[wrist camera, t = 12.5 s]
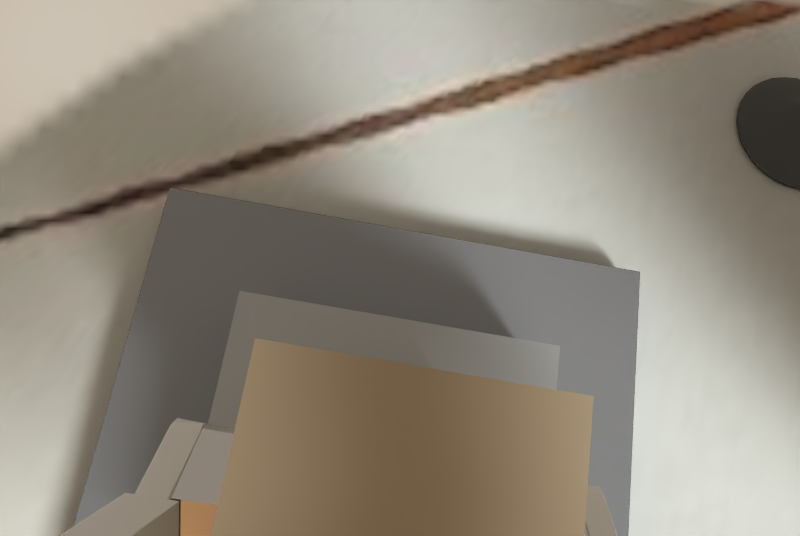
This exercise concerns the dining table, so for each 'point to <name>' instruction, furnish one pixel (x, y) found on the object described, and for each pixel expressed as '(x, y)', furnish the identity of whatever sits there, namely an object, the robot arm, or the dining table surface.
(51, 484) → the dining table surface
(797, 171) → the sundae
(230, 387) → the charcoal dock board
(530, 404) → the wooden block
